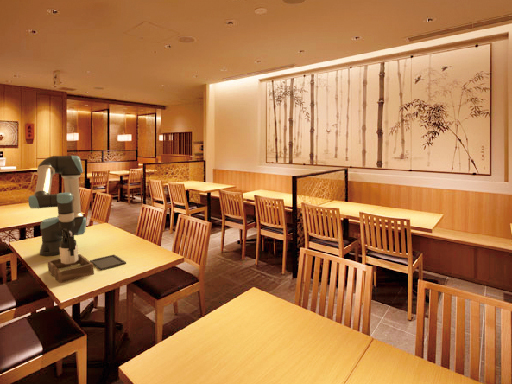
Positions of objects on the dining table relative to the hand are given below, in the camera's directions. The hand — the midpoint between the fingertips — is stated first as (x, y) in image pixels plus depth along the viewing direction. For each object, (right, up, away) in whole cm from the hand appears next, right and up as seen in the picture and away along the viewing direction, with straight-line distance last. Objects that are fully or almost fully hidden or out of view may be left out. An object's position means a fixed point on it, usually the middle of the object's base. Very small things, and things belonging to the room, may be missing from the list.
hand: (69, 258), depth 187 cm
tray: (+15, -6, +16) cm, 22 cm away
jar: (-1, -2, +1) cm, 2 cm away
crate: (0, -8, +1) cm, 8 cm away
